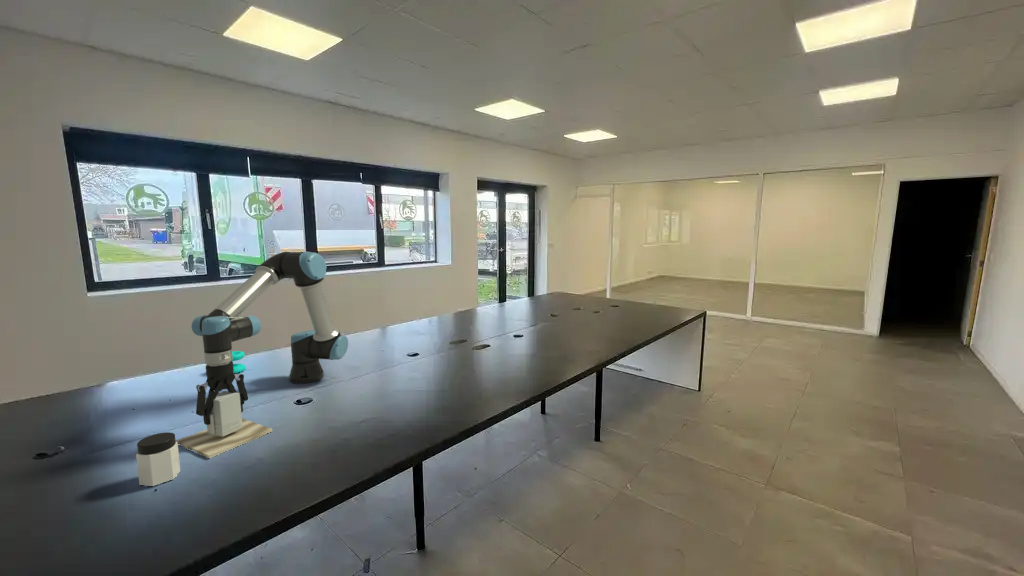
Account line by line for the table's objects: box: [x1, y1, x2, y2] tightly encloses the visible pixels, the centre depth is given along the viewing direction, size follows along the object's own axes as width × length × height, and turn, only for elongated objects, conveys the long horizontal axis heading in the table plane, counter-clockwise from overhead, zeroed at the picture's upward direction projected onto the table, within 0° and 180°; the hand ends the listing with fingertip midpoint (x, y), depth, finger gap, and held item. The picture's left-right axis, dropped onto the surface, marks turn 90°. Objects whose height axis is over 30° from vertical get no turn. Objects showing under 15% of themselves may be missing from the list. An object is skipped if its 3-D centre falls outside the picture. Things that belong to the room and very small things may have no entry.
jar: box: [135, 431, 181, 486], centre depth 115 cm, size 9×8×12 cm
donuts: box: [232, 350, 247, 374], centre depth 206 cm, size 10×10×10 cm
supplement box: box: [205, 390, 243, 437], centre depth 138 cm, size 7×7×13 cm
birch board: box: [176, 417, 273, 459], centre depth 139 cm, size 20×20×1 cm
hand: (225, 427), depth 139 cm, fingers closed on supplement box, 8 cm apart
